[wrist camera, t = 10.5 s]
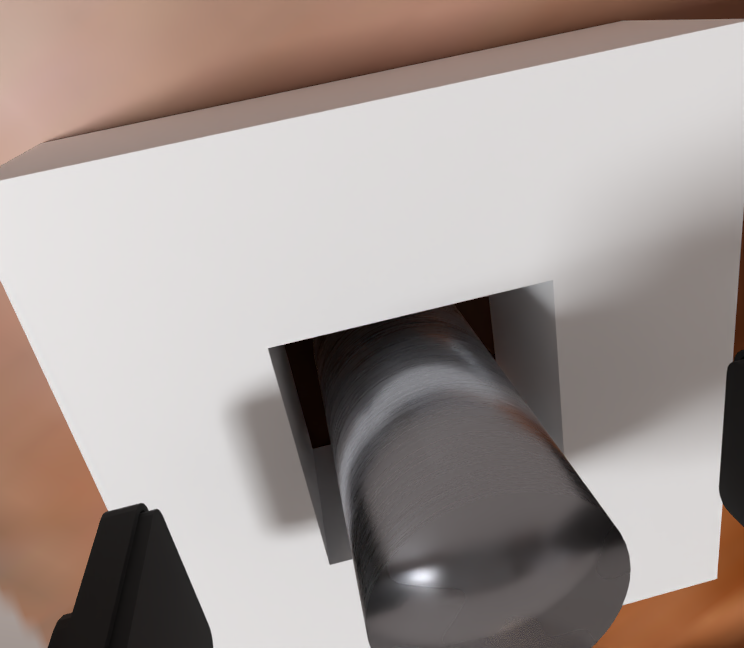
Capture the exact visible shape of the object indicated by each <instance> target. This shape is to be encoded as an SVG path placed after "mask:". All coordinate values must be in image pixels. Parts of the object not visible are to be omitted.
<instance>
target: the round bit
mask: <svg viewBox="0 0 744 648" xmlns="http://www.w3.org/2000/svg"><path fill="white" fill-rule="evenodd" d="M313 352H314V358H315V363H316V368H317V374H318V379H319V384H320V390H321V395H322V400H323V405H324V411H325V416H326V421H327V427H328V432H329V437H330V442H331V448H332V453H333V458H334V464H335V469H336V474H337V479H338V485H339V490H340V495H341V500H342V506H343V511H344V516H345V522H346V527H347V532H348V537H349V543H350V548H351V553H352V559H353V564H354V569H355V574H356V580H357V585H358V590H359V596H360V601H361V606H362V611H363V617H364V622H365V627H366V632H367V638H368V642H369V645H370V647H371V648H591V647H592V646H593V645H595V644H596V643H597V641H598V640H599V639H600V638H601V637H602V636H603V635H604V634H605V632H606V631H607V630H608V628H609V627H610V626H611V624H612V623H613V621H614V620H615V618H616V616H617V615H618V613H619V611H620V609H621V607H622V605H623V602H624V600H625V597H626V595H627V591H628V587H629V582H630V571H631V566H630V556H629V552H628V549H627V545H626V543H625V541H624V539H623V537H622V535H621V533H620V532H619V530H618V529H617V527H616V526H615V525H614V523H613V522H612V521H611V519H610V518H609V516H608V515H607V514H606V512H605V511H604V510H603V508H602V507H601V505H600V504H599V503H598V501H597V500H596V499H595V497H594V496H593V494H592V493H591V492H590V490H589V489H588V488H587V486H586V485H585V483H584V482H583V481H582V479H581V478H580V477H579V475H578V474H577V472H576V471H575V470H574V468H573V467H572V466H571V464H570V463H569V461H568V460H567V459H566V457H565V456H564V454H563V453H562V452H561V450H560V449H559V448H558V446H557V445H556V443H555V442H554V441H553V439H552V438H551V437H550V435H549V434H548V432H547V431H546V430H545V428H544V427H543V426H542V424H541V423H540V421H539V420H538V419H537V417H536V416H535V415H534V413H533V412H532V410H531V409H530V408H529V406H528V405H527V404H526V402H525V401H524V399H523V398H522V397H521V395H520V394H519V393H518V391H517V390H516V388H515V387H514V386H513V384H512V383H511V382H510V380H509V379H508V377H507V376H506V375H505V373H504V372H503V371H502V369H501V368H500V366H499V365H498V364H497V362H496V361H495V360H494V358H493V357H492V355H491V354H490V353H489V351H488V350H487V349H486V347H485V346H484V344H483V343H482V342H481V340H480V339H479V338H478V336H477V335H476V333H475V332H474V331H473V329H472V328H471V327H470V325H469V324H468V322H467V321H466V320H465V318H464V317H463V316H462V314H461V313H460V311H459V310H458V309H457V307H456V306H455V305H454V304H450V305H446V306H442V307H438V308H434V309H430V310H425V311H421V312H417V313H413V314H409V315H405V316H400V317H396V318H392V319H388V320H384V321H380V322H375V323H371V324H367V325H363V326H359V327H355V328H350V329H346V330H342V331H338V332H334V333H330V334H325V335H321V336H317V337H313Z"/></svg>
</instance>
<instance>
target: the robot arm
mask: <svg viewBox="0 0 744 648" xmlns="http://www.w3.org/2000/svg"><path fill="white" fill-rule="evenodd" d="M719 494H720V498H721V500H722V502H723V504H724V506H725V508H726V509H727V510H728V511H729V513H730V514H731V515H732V516H733V517H734V518H735V519H736V520H737V521H738V522H739V523H740V524H741V525H742V526H743V527H744V350H741V351H740V352H738V353H737V354H736V356H735V358H734V362H732V363H730V364H729V365H728V368H727V374H726V389H725V404H724V418H723V433H722V447H721V462H720V477H719ZM48 648H213V640H212V634H211V630H210V627H209V624H208V622H207V619H206V617H205V615H204V612H203V610H202V607H201V605H200V603H199V600H198V598H197V596H196V593H195V591H194V588H193V586H192V584H191V581H190V579H189V577H188V574H187V572H186V569H185V567H184V565H183V562H182V560H181V558H180V555H179V553H178V550H177V548H176V546H175V543H174V541H173V539H172V536H171V534H170V531H169V529H168V527H167V524H166V522H165V520H164V517H163V515H162V513H161V511H160V510H159V509H154V510H150V511H149V510H148V508H147V506H146V505H145V504H144V503H139V504H135V505H131V506H127V507H123V508H119V509H115V510H111V511H107V512H105V513H104V514H103V515H102V518H101V520H100V523H99V527H98V530H97V533H96V537H95V540H94V543H93V546H92V550H91V553H90V556H89V560H88V563H87V566H86V569H85V573H84V576H83V579H82V583H81V586H80V589H79V592H78V596H77V599H76V602H75V606H74V609H73V612H72V613H70V614H66V615H63V616H62V617H61V618H60V619H59V620H58V622H57V624H56V626H55V628H54V630H53V633H52V636H51V639H50V643H49V646H48Z"/></svg>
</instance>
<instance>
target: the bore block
mask: <svg viewBox="0 0 744 648" xmlns="http://www.w3.org/2000/svg"><path fill="white" fill-rule="evenodd" d="M743 211H744V19H697V20H629V21H619V22H614V23H609V24H605V25H600V26H595V27H590V28H586V29H581V30H576V31H571V32H567V33H562V34H557V35H552V36H548V37H543V38H538V39H533V40H529V41H524V42H519V43H514V44H510V45H505V46H500V47H495V48H491V49H486V50H481V51H477V52H472V53H467V54H462V55H458V56H453V57H448V58H443V59H439V60H434V61H429V62H424V63H420V64H415V65H410V66H405V67H401V68H396V69H391V70H386V71H382V72H377V73H372V74H367V75H363V76H358V77H353V78H348V79H344V80H339V81H334V82H329V83H325V84H320V85H315V86H310V87H306V88H301V89H296V90H291V91H287V92H282V93H277V94H272V95H268V96H263V97H258V98H253V99H249V100H244V101H239V102H234V103H230V104H225V105H220V106H215V107H211V108H206V109H201V110H196V111H192V112H187V113H182V114H177V115H173V116H168V117H163V118H158V119H154V120H149V121H144V122H139V123H135V124H130V125H125V126H120V127H116V128H111V129H106V130H101V131H97V132H92V133H87V134H82V135H78V136H73V137H68V138H63V139H59V140H54V141H49V142H44V143H40V144H39V145H37V146H35V147H33V148H32V149H30V150H28V151H26V152H24V153H23V154H21V155H19V156H17V157H15V158H14V159H12V160H10V161H8V162H7V163H5V164H3V165H1V166H0V280H1V282H2V284H3V287H4V289H5V291H6V293H7V295H8V297H9V299H10V302H11V304H12V306H13V308H14V310H15V312H16V314H17V317H18V319H19V321H20V323H21V325H22V327H23V329H24V332H25V334H26V336H27V338H28V340H29V342H30V344H31V346H32V349H33V351H34V353H35V355H36V357H37V359H38V361H39V364H40V366H41V368H42V370H43V372H44V374H45V376H46V379H47V381H48V383H49V385H50V387H51V389H52V391H53V394H54V396H55V398H56V400H57V402H58V404H59V406H60V408H61V411H62V413H63V415H64V417H65V419H66V421H67V423H68V426H69V428H70V430H71V432H72V434H73V436H74V438H75V441H76V443H77V445H78V447H79V449H80V451H81V453H82V456H83V458H84V460H85V462H86V464H87V466H88V468H89V471H90V473H91V475H92V477H93V479H94V481H95V483H96V485H97V488H98V490H99V492H100V494H101V496H102V498H103V500H104V503H105V505H106V507H107V509H108V511H111V510H115V509H119V508H123V507H127V506H131V505H135V504H139V503H144V504H145V505H146V506H147V508H148V510H149V511H150V510H154V509H159V510H160V511H161V513H162V515H163V517H164V520H165V522H166V524H167V527H168V529H169V531H170V534H171V536H172V539H173V541H174V543H175V546H176V548H177V550H178V553H179V555H180V558H181V560H182V562H183V565H184V567H185V569H186V572H187V574H188V577H189V579H190V581H191V584H192V586H193V588H194V591H195V593H196V596H197V598H198V600H199V603H200V605H201V607H202V610H203V612H204V615H205V617H206V619H207V622H208V624H209V627H210V630H211V634H212V640H213V648H371V647H370V645H369V642H368V638H367V632H366V627H365V622H364V617H363V611H362V606H361V601H360V596H359V590H358V585H357V580H356V574H355V569H354V564H353V559H352V553H351V548H350V543H349V537H348V532H347V527H346V522H345V516H344V511H343V506H342V500H341V495H340V490H339V485H338V479H337V474H336V469H335V464H334V458H333V453H332V448H331V444H330V445H326V446H322V447H318V448H314V449H313V448H312V444H311V441H310V437H309V433H308V430H307V426H306V422H305V419H304V415H303V411H302V408H301V404H300V400H299V397H298V393H297V389H296V386H295V382H294V378H293V375H292V371H291V367H290V364H289V360H288V356H287V353H286V349H285V346H284V344H288V343H292V342H296V341H300V340H304V339H309V338H313V337H317V336H321V335H325V334H330V333H334V332H338V331H342V330H346V329H350V328H355V327H359V326H363V325H367V324H371V323H375V322H380V321H384V320H388V319H392V318H396V317H400V316H405V315H409V314H413V313H417V312H421V311H425V310H430V309H434V308H438V307H442V306H446V305H450V304H455V303H459V302H463V301H467V300H471V299H475V298H480V297H484V296H489V305H490V314H491V323H492V332H493V341H494V350H495V359H496V362H497V364H498V365H499V366H500V368H501V369H502V371H503V372H504V373H505V375H506V376H507V377H508V379H509V380H510V382H511V383H512V384H513V386H514V387H515V388H516V390H517V391H518V393H519V394H520V395H521V397H522V398H523V399H524V401H525V402H526V404H527V405H528V406H529V408H530V409H531V410H532V412H533V413H534V415H535V416H536V417H537V419H538V420H539V421H540V423H541V424H542V426H543V427H544V428H545V430H546V431H547V432H548V434H549V435H550V437H551V438H552V439H553V441H554V442H555V443H556V445H557V446H558V448H559V449H560V450H561V452H562V453H563V454H564V456H565V457H566V459H567V460H568V461H569V463H570V464H571V466H572V467H573V468H574V470H575V471H576V472H577V474H578V475H579V477H580V478H581V479H582V481H583V482H584V483H585V485H586V486H587V488H588V489H589V490H590V492H591V493H592V494H593V496H594V497H595V499H596V500H597V501H598V503H599V504H600V505H601V507H602V508H603V510H604V511H605V512H606V514H607V515H608V516H609V518H610V519H611V521H612V522H613V523H614V525H615V526H616V527H617V529H618V530H619V532H620V533H621V535H622V537H623V539H624V541H625V543H626V545H627V549H628V552H629V556H630V566H631V571H630V582H629V587H628V591H627V595H626V597H625V600H624V602H623V605H625V604H629V603H632V602H636V601H639V600H643V599H646V598H650V597H653V596H657V595H661V594H664V593H668V592H671V591H675V590H678V589H682V588H685V587H689V586H693V585H696V584H700V583H703V582H707V581H710V580H714V579H717V570H718V556H719V542H720V528H721V515H722V500H721V498H720V494H719V477H720V462H721V447H722V433H723V418H724V404H725V389H726V374H727V368H728V365H729V364H730V363H732V362H733V349H734V335H735V322H736V308H737V294H738V280H739V266H740V253H741V239H742V225H743Z"/></svg>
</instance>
